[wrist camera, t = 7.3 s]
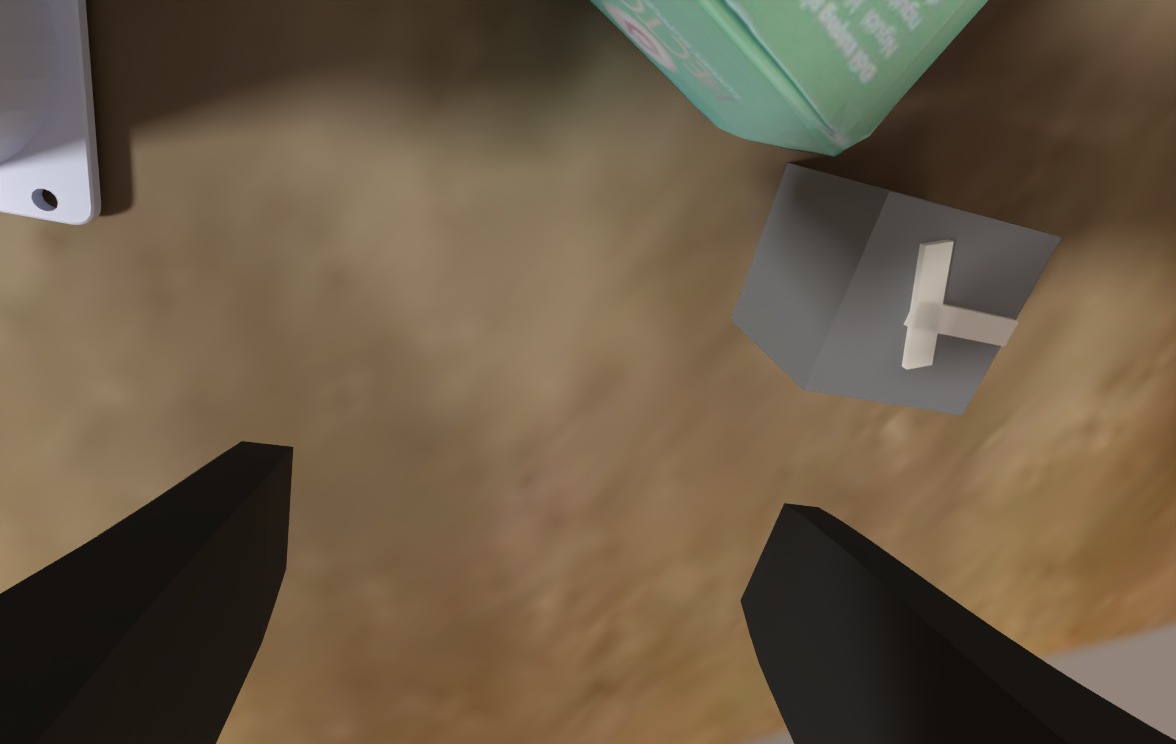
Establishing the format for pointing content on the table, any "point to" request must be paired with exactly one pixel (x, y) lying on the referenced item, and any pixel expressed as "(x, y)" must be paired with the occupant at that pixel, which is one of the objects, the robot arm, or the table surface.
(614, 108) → the table surface
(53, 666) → the robot arm
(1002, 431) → the table surface
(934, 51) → the box
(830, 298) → the charcoal cube
